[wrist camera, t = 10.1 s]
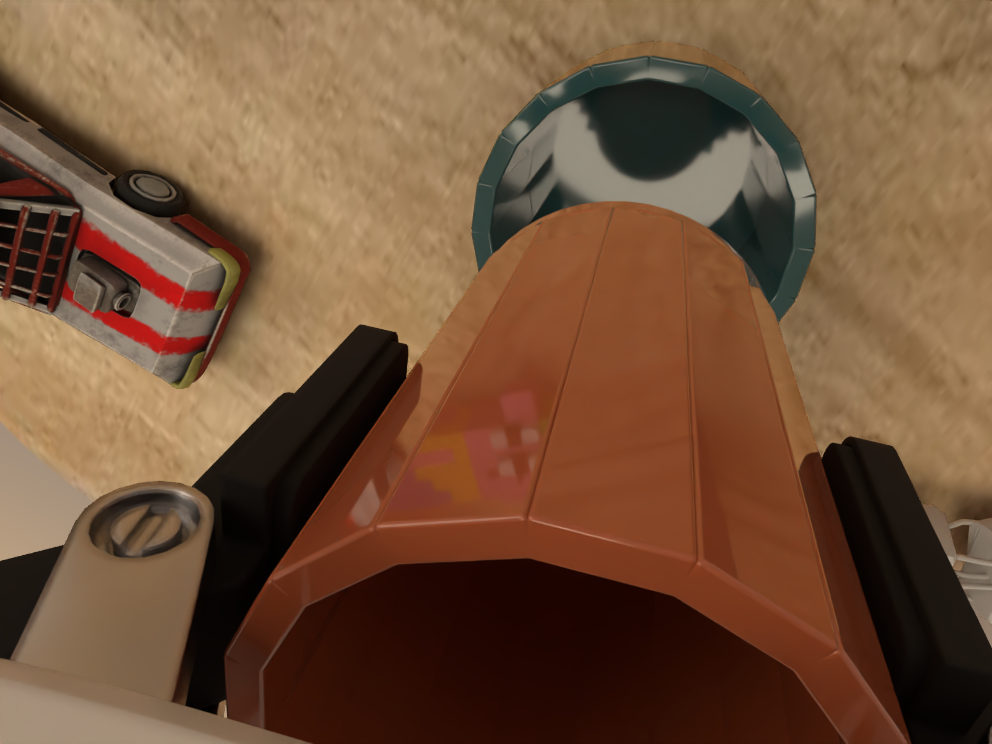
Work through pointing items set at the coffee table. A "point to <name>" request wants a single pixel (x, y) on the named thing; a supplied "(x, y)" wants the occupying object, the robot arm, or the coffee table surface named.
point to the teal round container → (658, 158)
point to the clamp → (969, 558)
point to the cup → (579, 524)
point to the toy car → (112, 254)
